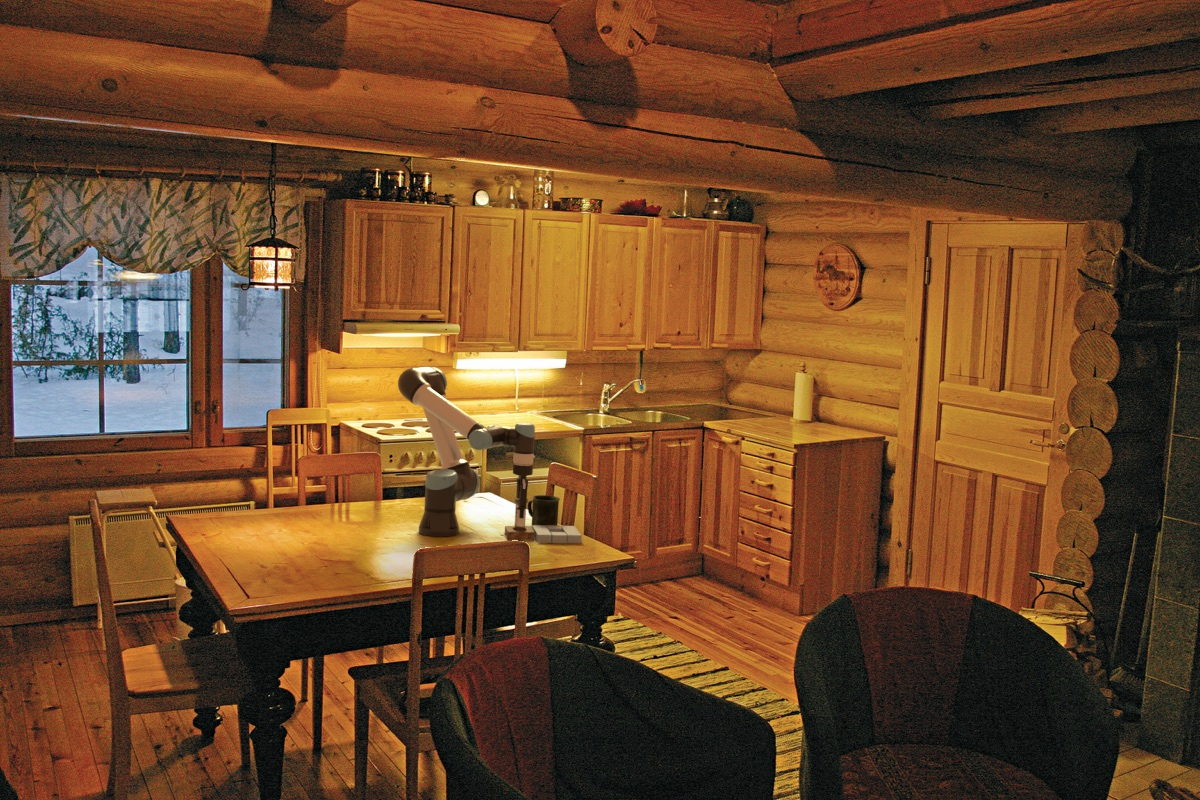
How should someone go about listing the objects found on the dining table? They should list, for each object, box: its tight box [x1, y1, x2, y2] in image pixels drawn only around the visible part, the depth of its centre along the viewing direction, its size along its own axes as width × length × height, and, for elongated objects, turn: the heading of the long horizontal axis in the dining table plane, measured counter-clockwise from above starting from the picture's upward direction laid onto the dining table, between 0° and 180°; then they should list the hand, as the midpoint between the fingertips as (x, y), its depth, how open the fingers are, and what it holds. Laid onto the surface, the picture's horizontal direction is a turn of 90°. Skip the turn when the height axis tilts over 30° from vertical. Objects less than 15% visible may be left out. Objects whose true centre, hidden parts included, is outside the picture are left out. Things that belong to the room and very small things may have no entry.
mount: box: [504, 525, 535, 541], centre depth 405 cm, size 10×10×3 cm
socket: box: [531, 524, 582, 544], centre depth 407 cm, size 17×17×3 cm
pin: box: [514, 497, 529, 531], centre depth 404 cm, size 5×5×15 cm
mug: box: [527, 494, 561, 526], centre depth 424 cm, size 11×15×12 cm
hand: (519, 524), depth 404 cm, fingers closed on pin, 4 cm apart
